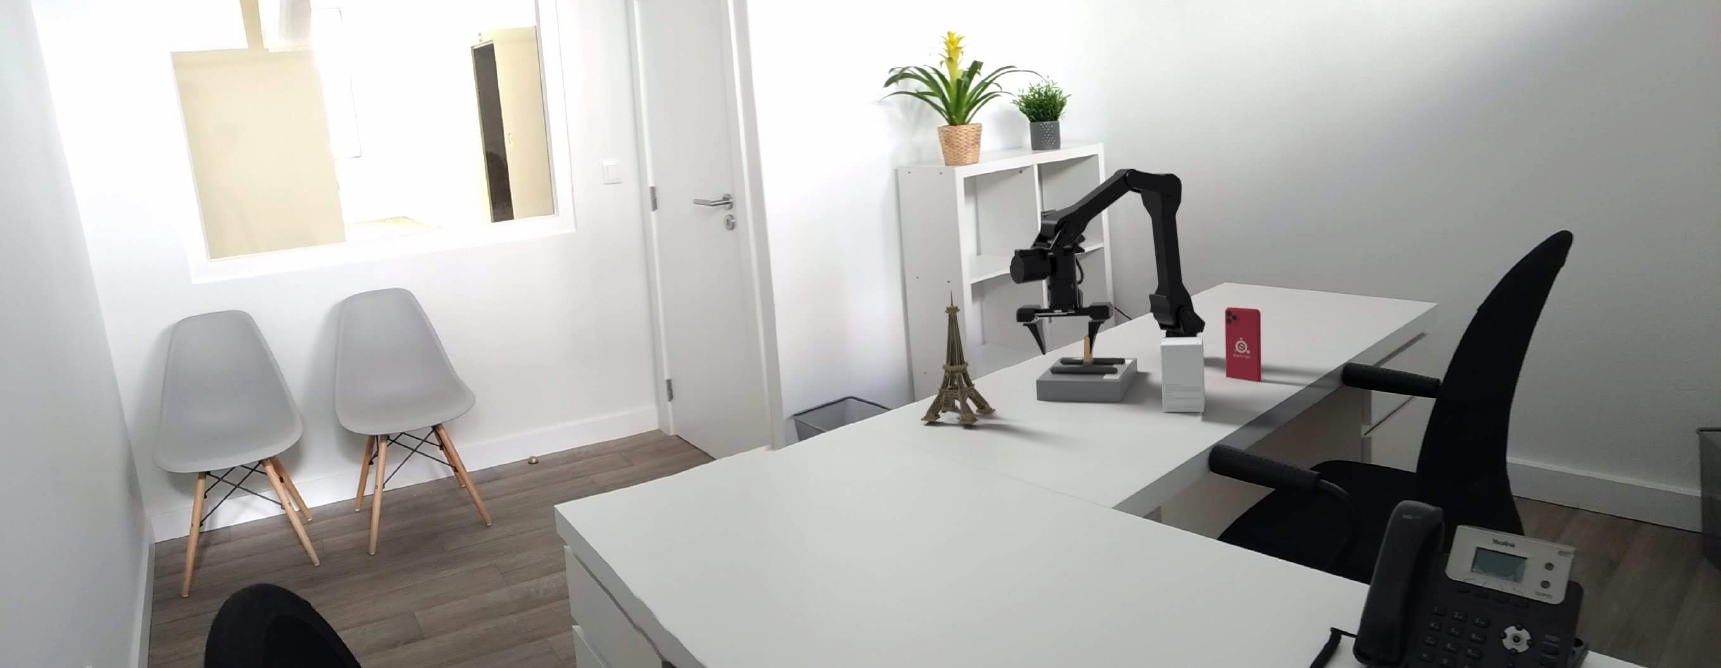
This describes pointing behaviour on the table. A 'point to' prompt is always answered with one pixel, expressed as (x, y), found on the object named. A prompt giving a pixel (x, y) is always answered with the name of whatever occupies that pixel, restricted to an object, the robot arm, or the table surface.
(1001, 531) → the table surface
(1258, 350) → the smartphone
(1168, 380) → the supplement box
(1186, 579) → the table surface
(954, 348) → the eiffel tower
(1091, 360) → the breaker lever
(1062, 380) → the breaker panel
